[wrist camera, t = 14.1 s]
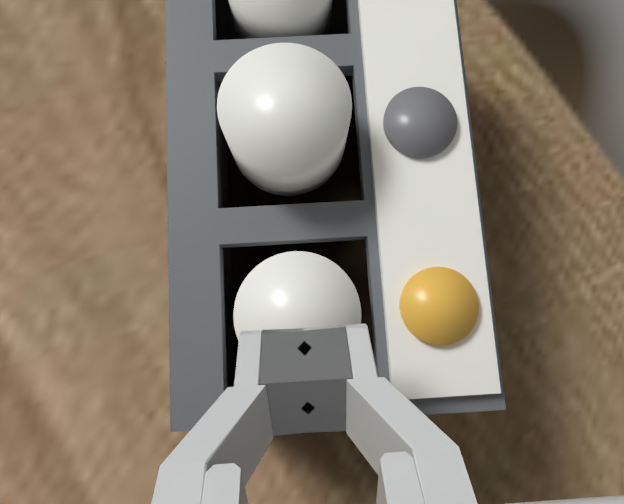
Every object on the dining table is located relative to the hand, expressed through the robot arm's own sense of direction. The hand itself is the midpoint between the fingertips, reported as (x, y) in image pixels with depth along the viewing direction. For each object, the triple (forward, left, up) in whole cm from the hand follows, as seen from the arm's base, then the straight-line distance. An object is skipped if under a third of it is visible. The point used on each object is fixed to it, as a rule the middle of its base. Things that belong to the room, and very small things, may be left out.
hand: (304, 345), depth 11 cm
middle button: (+5, +4, -3) cm, 7 cm away
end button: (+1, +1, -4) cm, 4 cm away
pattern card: (+7, +1, -2) cm, 8 cm away
